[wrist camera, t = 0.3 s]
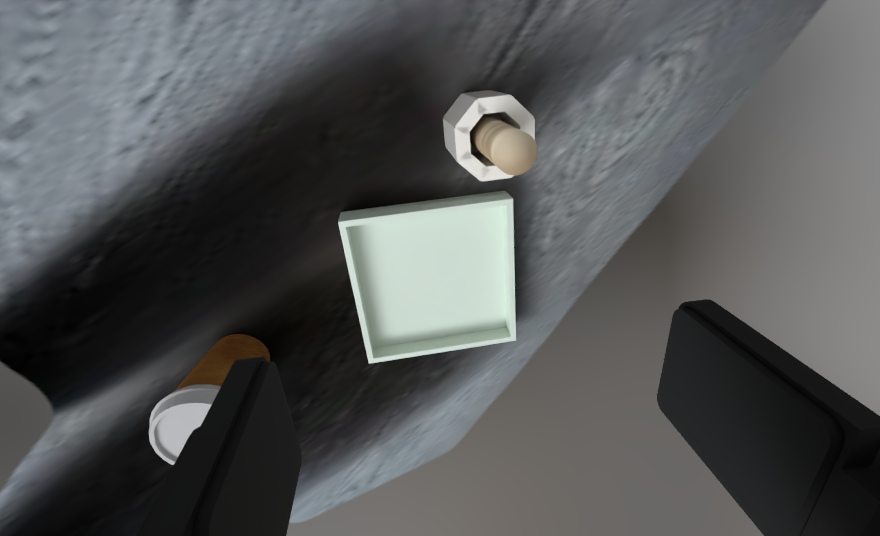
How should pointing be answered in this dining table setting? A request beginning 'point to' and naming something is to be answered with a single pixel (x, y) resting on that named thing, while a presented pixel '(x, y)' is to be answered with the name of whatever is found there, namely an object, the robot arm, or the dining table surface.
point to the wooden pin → (504, 145)
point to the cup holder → (465, 118)
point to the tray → (432, 274)
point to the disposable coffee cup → (197, 394)
